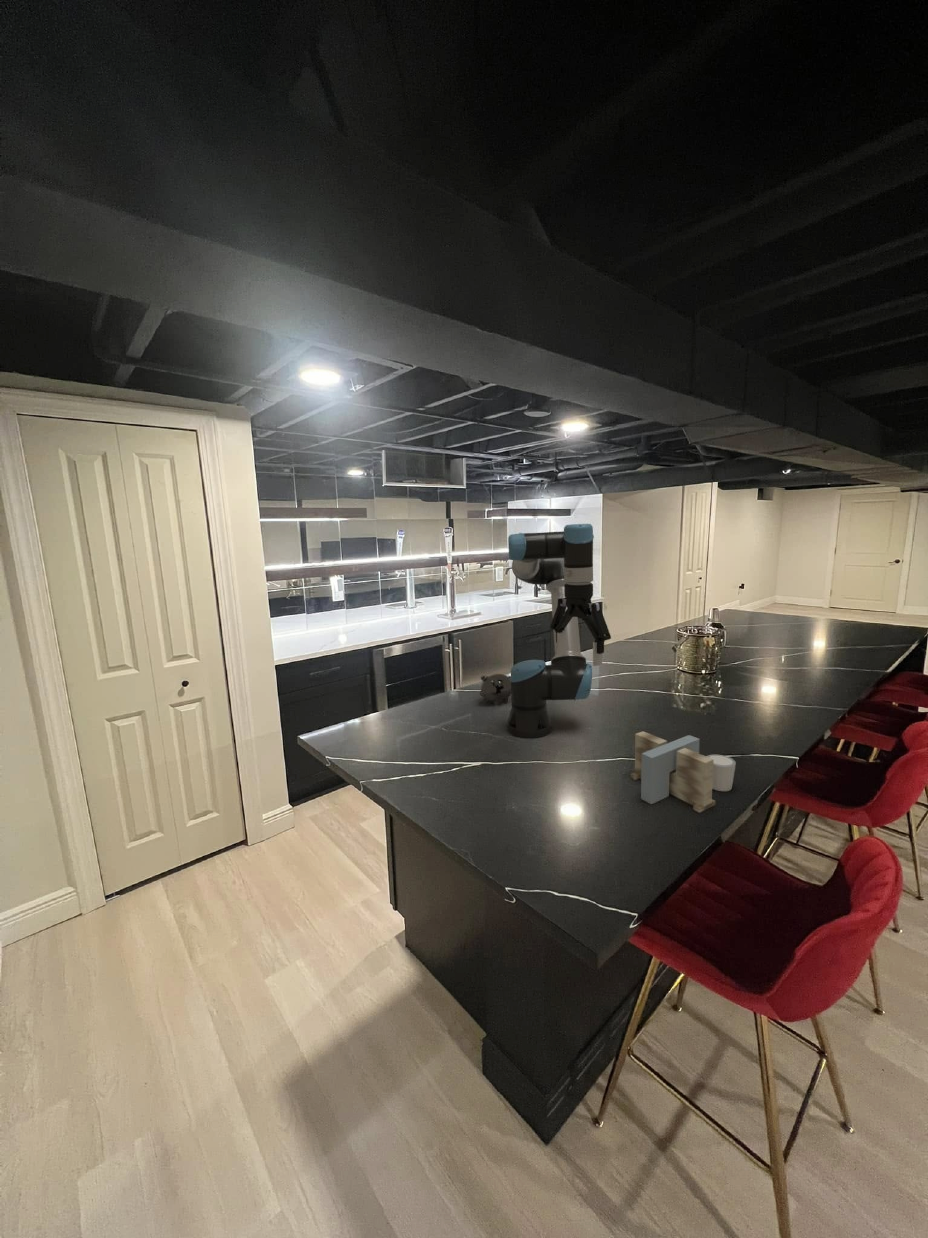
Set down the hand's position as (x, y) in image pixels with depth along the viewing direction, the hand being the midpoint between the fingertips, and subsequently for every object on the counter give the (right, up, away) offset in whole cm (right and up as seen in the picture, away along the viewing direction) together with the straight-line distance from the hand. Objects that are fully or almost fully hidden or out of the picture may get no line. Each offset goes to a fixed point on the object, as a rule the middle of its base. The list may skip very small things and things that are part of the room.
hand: (578, 659), depth 132 cm
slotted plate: (+21, -32, -11) cm, 40 cm away
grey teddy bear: (-19, -22, +58) cm, 65 cm away
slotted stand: (+21, -32, -11) cm, 40 cm away
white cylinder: (+34, -32, -9) cm, 47 cm away
